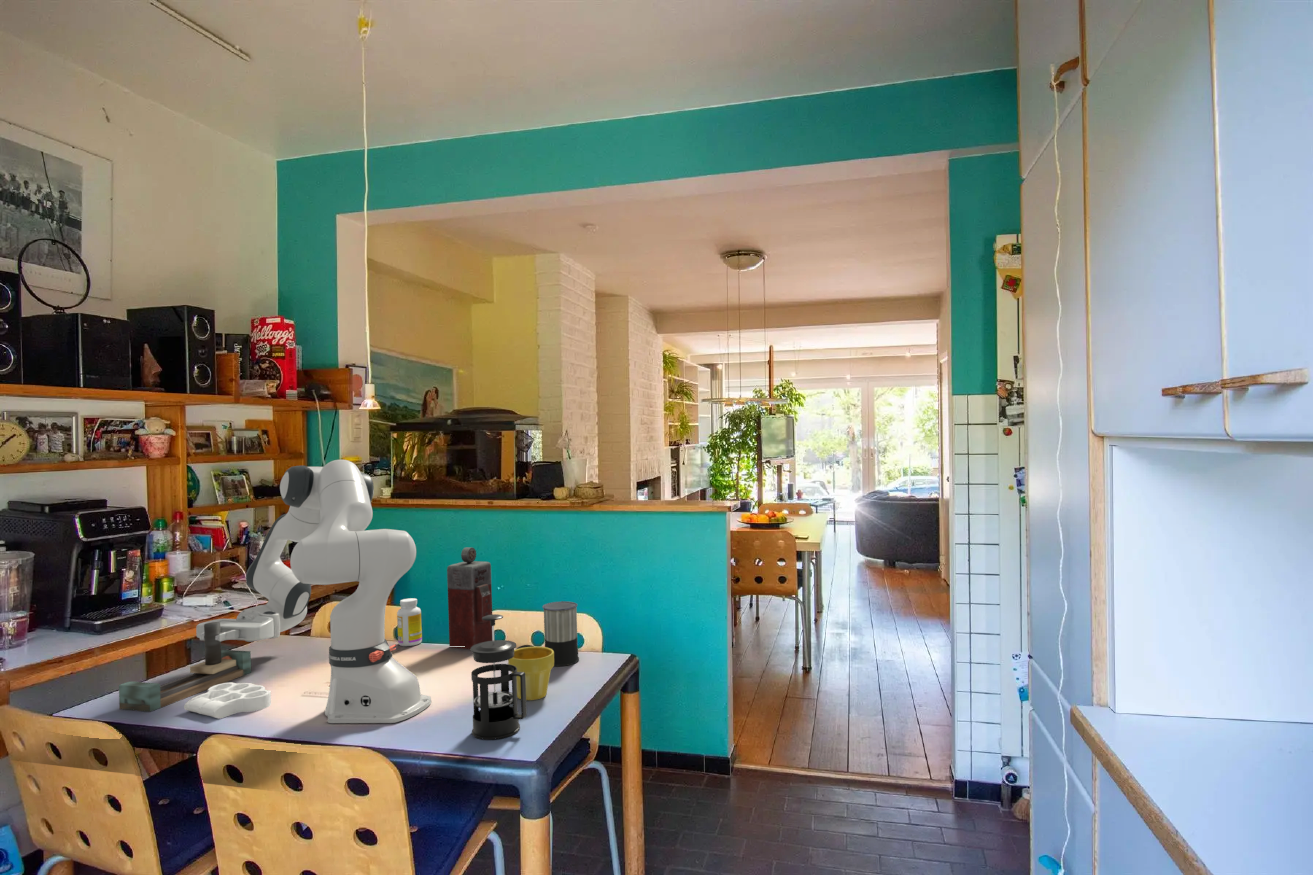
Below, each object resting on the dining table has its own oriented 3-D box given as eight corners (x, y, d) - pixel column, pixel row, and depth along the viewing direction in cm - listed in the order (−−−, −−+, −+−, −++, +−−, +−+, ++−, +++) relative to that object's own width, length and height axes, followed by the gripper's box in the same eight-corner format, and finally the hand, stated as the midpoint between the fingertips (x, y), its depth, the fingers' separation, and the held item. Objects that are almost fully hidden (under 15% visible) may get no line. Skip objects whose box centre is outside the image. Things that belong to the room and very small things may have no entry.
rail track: (251, 672, 189) (250, 651, 189) (150, 711, 162) (149, 687, 162) (223, 670, 191) (222, 649, 191) (119, 709, 164) (118, 684, 164)
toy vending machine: (481, 650, 202) (478, 550, 202) (448, 647, 206) (445, 549, 207) (500, 642, 210) (497, 545, 210) (468, 639, 215) (465, 544, 215)
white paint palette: (176, 712, 162) (239, 691, 175) (224, 724, 154) (287, 701, 167) (175, 697, 162) (239, 677, 175) (223, 709, 154) (287, 687, 167)
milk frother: (585, 662, 188) (583, 605, 188) (529, 674, 180) (527, 614, 180) (561, 650, 200) (560, 596, 200) (507, 661, 191) (505, 605, 192)
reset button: (232, 665, 187) (232, 655, 187) (229, 667, 186) (228, 657, 186) (224, 665, 188) (224, 655, 188) (221, 666, 187) (220, 656, 187)
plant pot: (564, 694, 164) (563, 651, 164) (526, 707, 157) (524, 662, 157) (538, 684, 172) (536, 643, 172) (500, 696, 164) (498, 653, 164)
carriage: (236, 665, 186) (234, 620, 186) (212, 674, 179) (211, 627, 179) (214, 664, 187) (212, 619, 188) (190, 672, 181) (188, 626, 181)
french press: (459, 737, 141) (456, 620, 142) (483, 719, 151) (480, 609, 151) (514, 742, 138) (510, 622, 139) (535, 723, 147) (531, 610, 148)
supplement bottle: (425, 640, 215) (424, 597, 215) (416, 646, 208) (414, 602, 208) (404, 640, 215) (402, 597, 215) (394, 646, 209) (392, 602, 209)
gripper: (222, 611, 198) (176, 623, 185) (284, 613, 193) (241, 626, 180) (222, 634, 198) (177, 648, 185) (284, 637, 193) (242, 651, 180)
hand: (209, 637), depth 182 cm, fingers closed on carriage, 3 cm apart
